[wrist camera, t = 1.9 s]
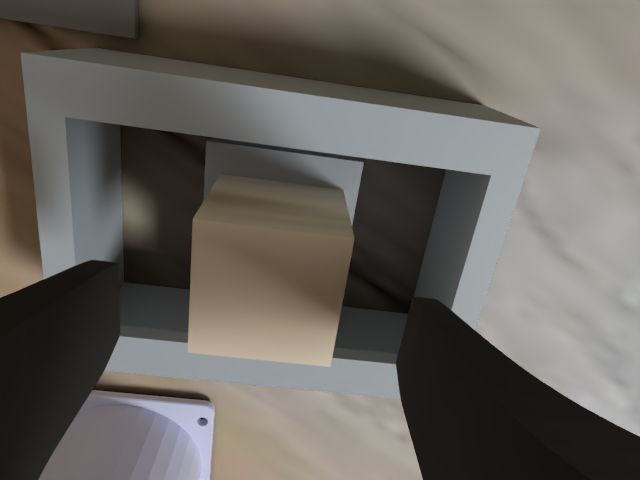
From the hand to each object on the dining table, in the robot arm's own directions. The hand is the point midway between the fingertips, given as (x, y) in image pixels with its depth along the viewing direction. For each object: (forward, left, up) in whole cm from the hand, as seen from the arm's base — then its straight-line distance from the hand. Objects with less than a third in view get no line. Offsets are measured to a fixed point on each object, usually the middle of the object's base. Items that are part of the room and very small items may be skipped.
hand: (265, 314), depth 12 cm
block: (0, 0, -5) cm, 5 cm away
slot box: (0, 0, -8) cm, 8 cm away
